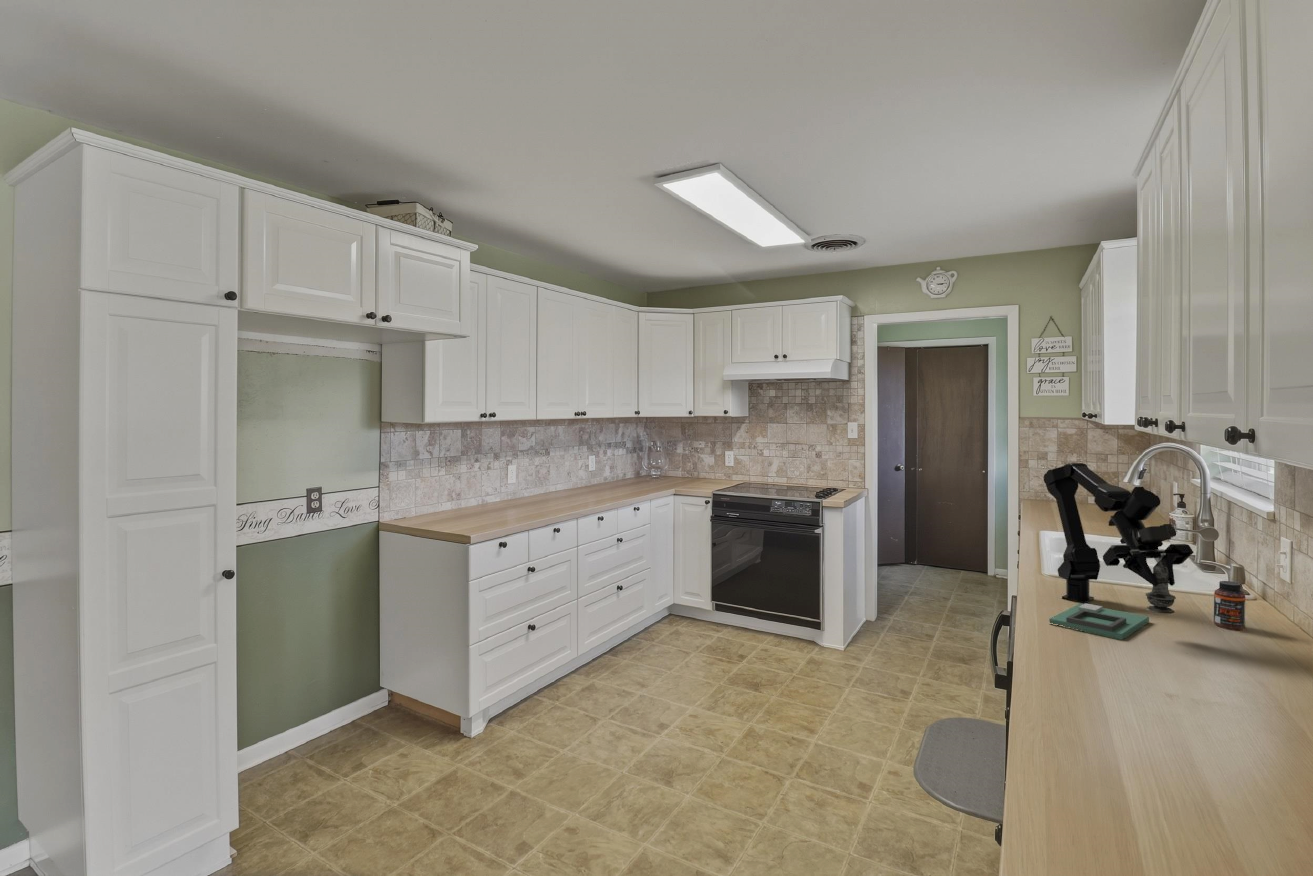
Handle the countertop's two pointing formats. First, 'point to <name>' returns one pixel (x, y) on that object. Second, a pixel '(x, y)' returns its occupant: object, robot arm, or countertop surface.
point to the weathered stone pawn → (1160, 592)
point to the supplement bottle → (1229, 606)
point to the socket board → (1100, 620)
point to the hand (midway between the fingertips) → (1164, 585)
